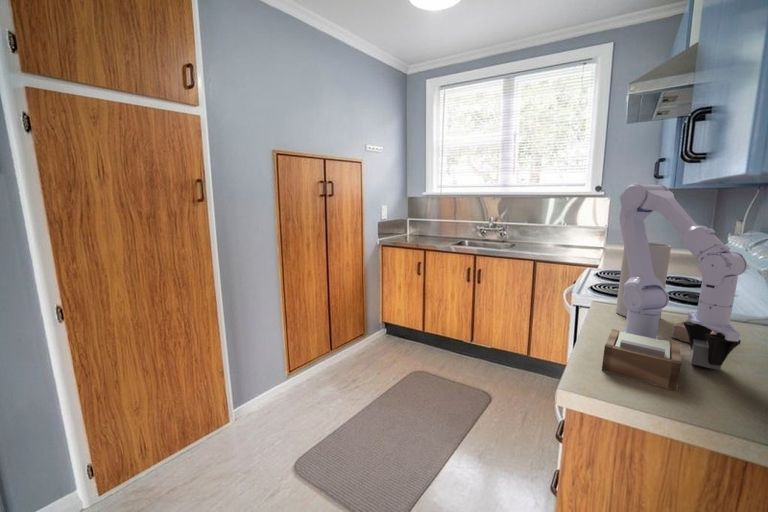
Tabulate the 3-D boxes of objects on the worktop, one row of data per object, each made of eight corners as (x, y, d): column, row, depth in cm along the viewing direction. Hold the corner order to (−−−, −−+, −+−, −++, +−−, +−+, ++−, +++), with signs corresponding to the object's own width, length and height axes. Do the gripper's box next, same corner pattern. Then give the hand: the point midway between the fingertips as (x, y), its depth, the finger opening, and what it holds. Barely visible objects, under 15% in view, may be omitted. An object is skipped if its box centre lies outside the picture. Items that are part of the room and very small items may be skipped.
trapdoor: (619, 335, 88) (621, 327, 88) (668, 346, 82) (670, 337, 82) (614, 350, 80) (615, 341, 79) (669, 363, 74) (670, 353, 73)
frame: (609, 350, 91) (612, 329, 90) (675, 366, 82) (679, 342, 81) (601, 370, 80) (604, 346, 79) (676, 390, 72) (681, 364, 71)
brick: (691, 328, 108) (693, 314, 107) (727, 337, 101) (730, 322, 100) (670, 339, 99) (672, 324, 99) (708, 350, 92) (711, 334, 92)
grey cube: (690, 357, 85) (693, 338, 85) (717, 363, 82) (721, 344, 81) (691, 363, 82) (694, 344, 81) (720, 370, 79) (723, 350, 78)
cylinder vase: (618, 317, 116) (627, 245, 112) (613, 307, 127) (621, 241, 123) (664, 324, 111) (676, 247, 107) (655, 313, 122) (665, 243, 118)
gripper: (677, 293, 87) (669, 343, 90) (716, 311, 74) (705, 370, 76) (710, 295, 86) (701, 346, 88) (756, 314, 72) (744, 374, 74)
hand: (705, 357), depth 82 cm, fingers closed on grey cube, 6 cm apart
